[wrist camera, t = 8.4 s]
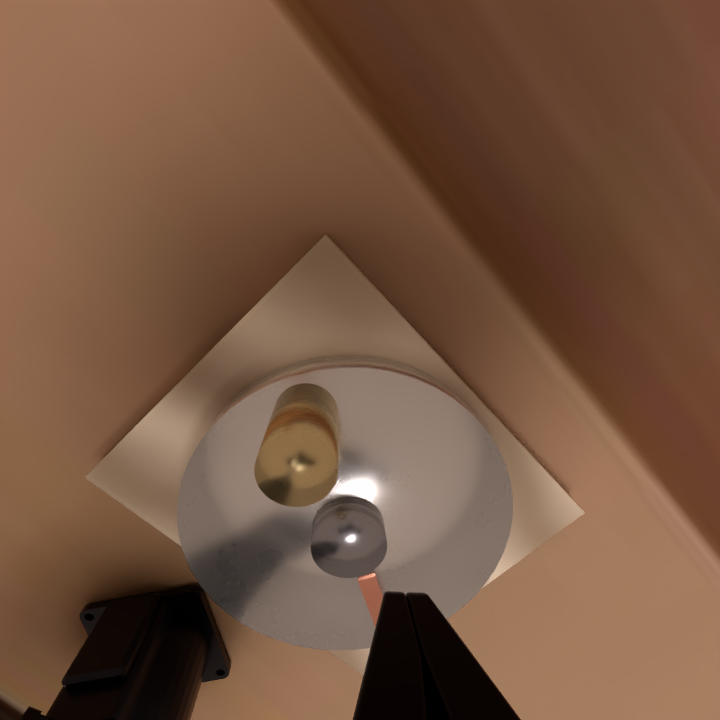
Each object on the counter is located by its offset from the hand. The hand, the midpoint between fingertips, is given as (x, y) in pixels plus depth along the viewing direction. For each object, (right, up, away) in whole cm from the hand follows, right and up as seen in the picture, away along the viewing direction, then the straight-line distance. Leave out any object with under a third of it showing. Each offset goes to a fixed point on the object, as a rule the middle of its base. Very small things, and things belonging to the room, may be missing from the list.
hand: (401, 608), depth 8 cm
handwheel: (-1, -2, +11) cm, 11 cm away
